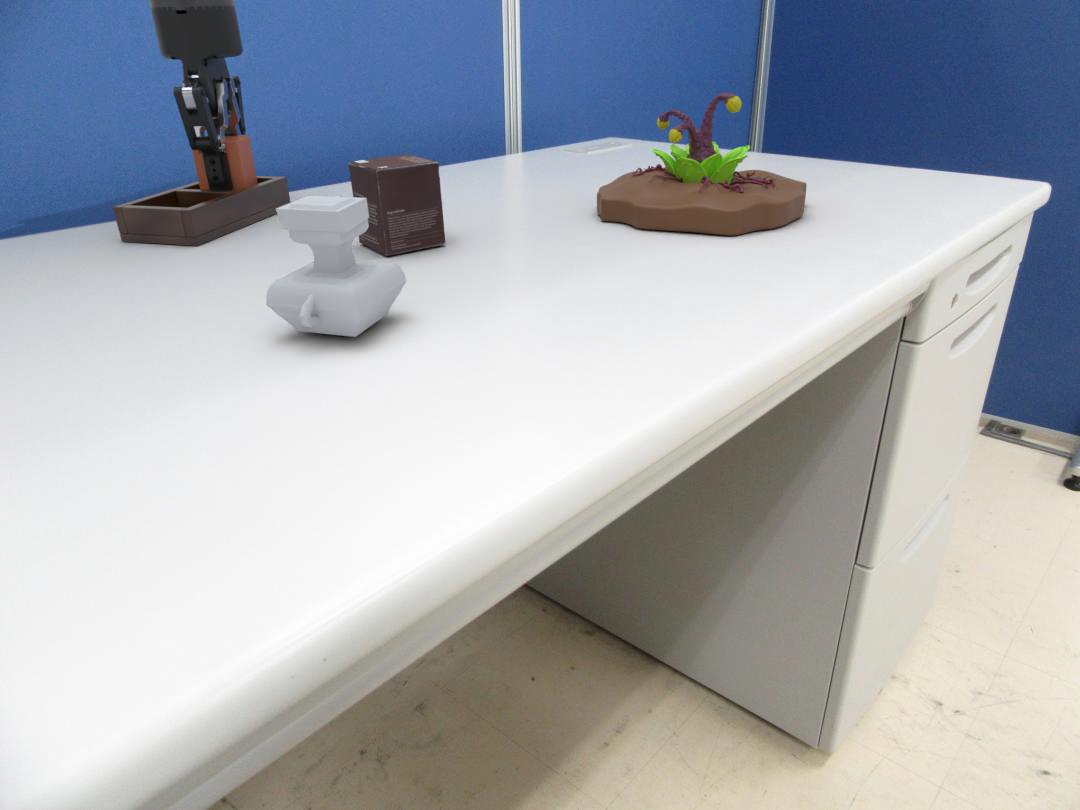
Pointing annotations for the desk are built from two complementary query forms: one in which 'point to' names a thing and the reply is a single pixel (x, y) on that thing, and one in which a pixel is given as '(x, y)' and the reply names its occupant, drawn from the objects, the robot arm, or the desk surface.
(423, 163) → the box
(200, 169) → the block
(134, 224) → the tray
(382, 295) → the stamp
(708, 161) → the plant
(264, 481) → the desk surface
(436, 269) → the desk surface
